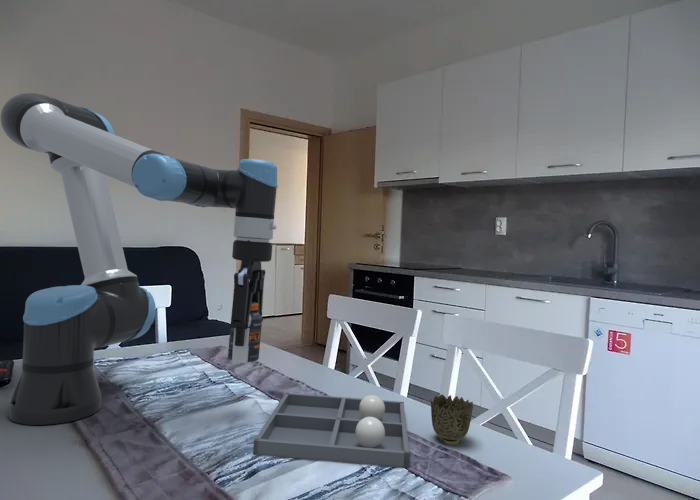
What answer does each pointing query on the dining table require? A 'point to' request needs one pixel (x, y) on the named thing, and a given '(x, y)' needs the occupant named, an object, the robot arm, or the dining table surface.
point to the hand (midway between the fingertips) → (244, 357)
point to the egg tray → (331, 431)
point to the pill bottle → (250, 335)
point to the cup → (451, 418)
